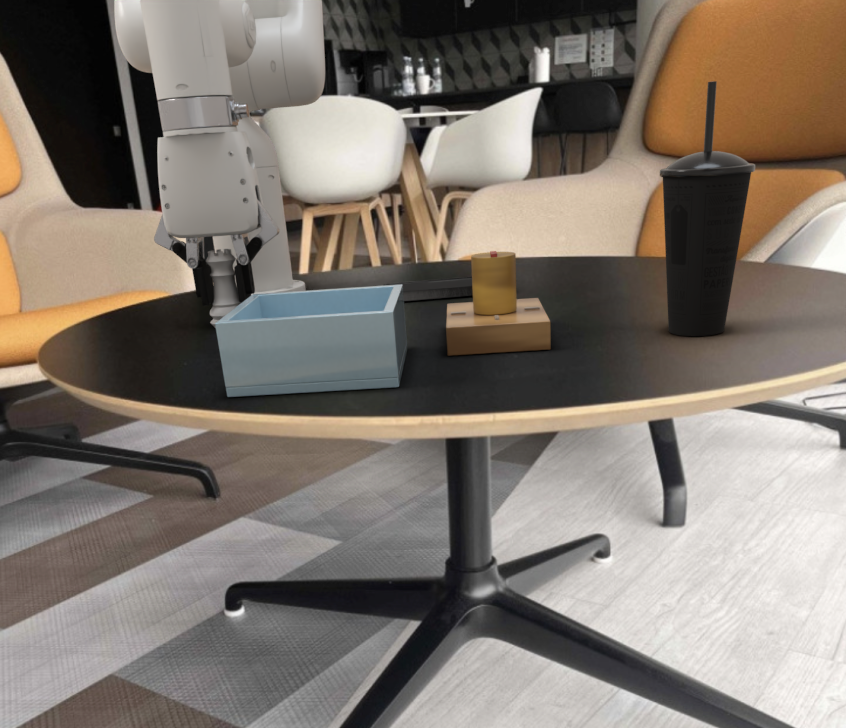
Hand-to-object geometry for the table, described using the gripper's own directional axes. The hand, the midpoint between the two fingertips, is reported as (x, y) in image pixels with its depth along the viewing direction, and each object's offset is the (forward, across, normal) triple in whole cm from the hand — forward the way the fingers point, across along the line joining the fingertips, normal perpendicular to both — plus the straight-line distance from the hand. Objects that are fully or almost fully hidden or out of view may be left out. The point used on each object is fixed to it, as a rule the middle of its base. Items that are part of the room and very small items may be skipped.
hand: (227, 300), depth 97 cm
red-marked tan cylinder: (0, -29, +16) cm, 33 cm away
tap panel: (+3, -29, +16) cm, 33 cm away
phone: (+3, -24, -12) cm, 27 cm away
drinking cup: (+3, -47, +18) cm, 50 cm away
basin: (+3, -14, +25) cm, 29 cm away
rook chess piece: (+3, 0, 0) cm, 3 cm away
